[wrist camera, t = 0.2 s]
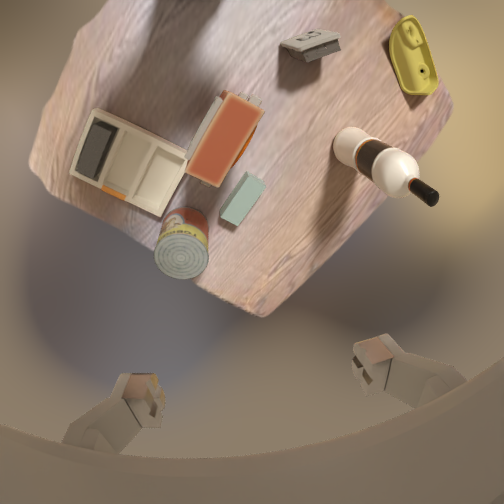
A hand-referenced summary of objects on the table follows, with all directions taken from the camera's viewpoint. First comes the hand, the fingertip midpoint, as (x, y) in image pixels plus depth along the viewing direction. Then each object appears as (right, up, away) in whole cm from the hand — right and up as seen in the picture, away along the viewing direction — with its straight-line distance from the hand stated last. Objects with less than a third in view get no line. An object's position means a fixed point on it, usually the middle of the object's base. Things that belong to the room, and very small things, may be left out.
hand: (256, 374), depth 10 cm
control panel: (-7, +31, +41) cm, 52 cm away
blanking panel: (-3, +18, +51) cm, 54 cm away
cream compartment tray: (-27, +25, +42) cm, 56 cm away
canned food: (-16, +11, +54) cm, 57 cm away
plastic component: (+37, +52, +34) cm, 72 cm away
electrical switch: (+11, +47, +33) cm, 58 cm away
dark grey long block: (-33, +27, +39) cm, 58 cm away
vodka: (+22, +29, +47) cm, 60 cm away
